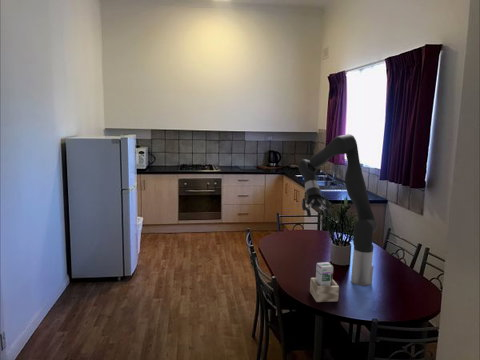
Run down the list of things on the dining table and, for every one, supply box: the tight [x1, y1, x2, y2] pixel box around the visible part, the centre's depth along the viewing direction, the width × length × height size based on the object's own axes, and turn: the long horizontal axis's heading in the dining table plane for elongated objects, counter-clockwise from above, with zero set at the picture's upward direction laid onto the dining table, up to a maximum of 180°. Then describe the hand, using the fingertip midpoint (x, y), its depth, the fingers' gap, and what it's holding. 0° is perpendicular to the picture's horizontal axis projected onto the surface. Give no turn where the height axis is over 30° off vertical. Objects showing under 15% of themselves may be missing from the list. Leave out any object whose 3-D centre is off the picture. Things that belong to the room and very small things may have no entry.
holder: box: [309, 277, 340, 303], centre depth 177 cm, size 10×10×7 cm
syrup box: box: [315, 261, 334, 286], centre depth 177 cm, size 6×6×14 cm
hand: (318, 216), depth 200 cm, fingers open, 8 cm apart
